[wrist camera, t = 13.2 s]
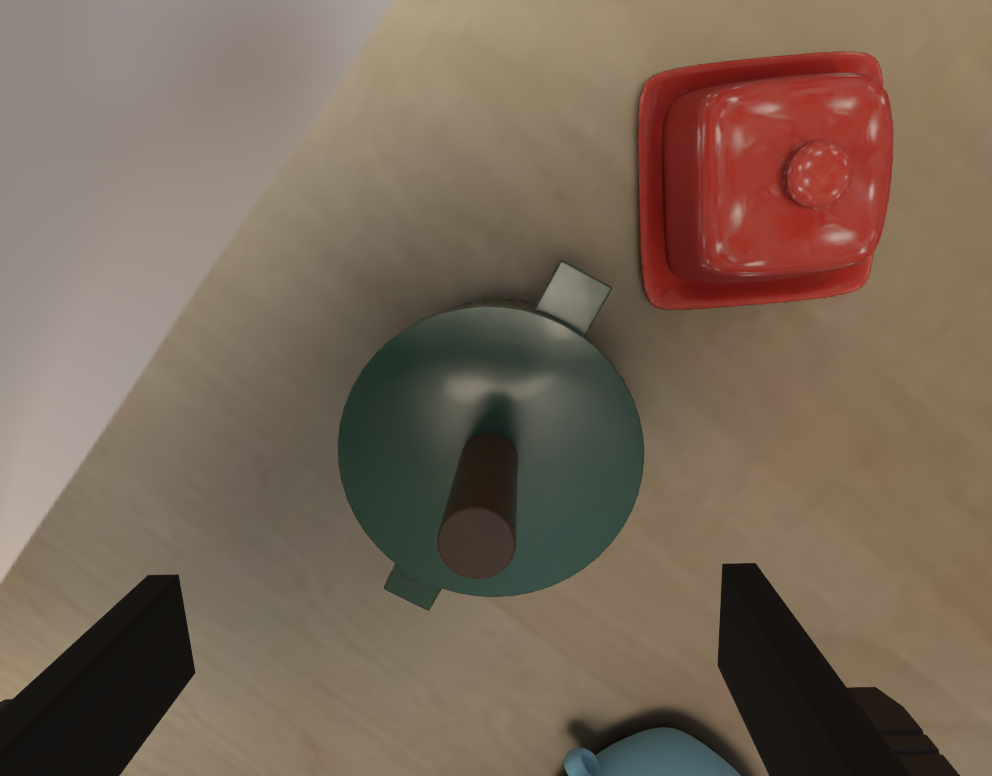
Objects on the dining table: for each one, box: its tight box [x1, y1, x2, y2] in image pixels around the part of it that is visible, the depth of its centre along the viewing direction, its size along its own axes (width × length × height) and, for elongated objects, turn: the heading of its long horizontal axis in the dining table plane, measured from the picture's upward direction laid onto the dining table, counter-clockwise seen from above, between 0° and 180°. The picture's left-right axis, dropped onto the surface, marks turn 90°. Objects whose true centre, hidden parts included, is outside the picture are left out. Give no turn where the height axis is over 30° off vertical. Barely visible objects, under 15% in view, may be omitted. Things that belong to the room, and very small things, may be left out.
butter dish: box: [638, 51, 893, 310], centre depth 28 cm, size 12×12×8 cm
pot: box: [384, 260, 612, 611], centre depth 31 cm, size 12×17×8 cm
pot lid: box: [338, 304, 644, 597], centre depth 23 cm, size 13×13×9 cm
